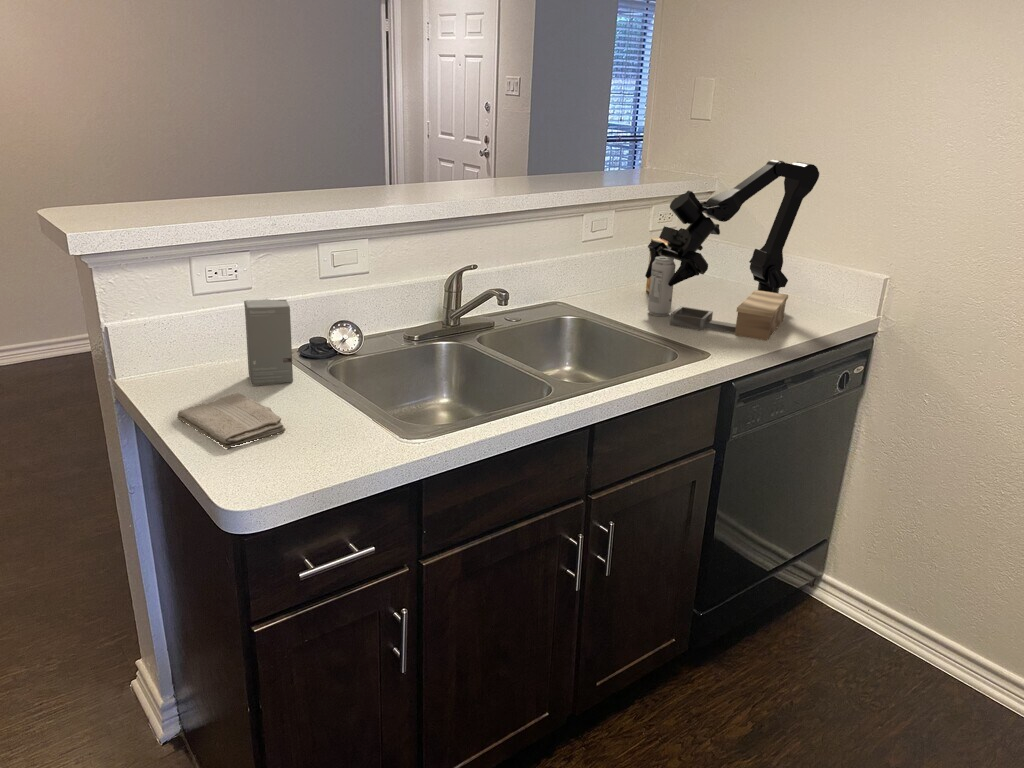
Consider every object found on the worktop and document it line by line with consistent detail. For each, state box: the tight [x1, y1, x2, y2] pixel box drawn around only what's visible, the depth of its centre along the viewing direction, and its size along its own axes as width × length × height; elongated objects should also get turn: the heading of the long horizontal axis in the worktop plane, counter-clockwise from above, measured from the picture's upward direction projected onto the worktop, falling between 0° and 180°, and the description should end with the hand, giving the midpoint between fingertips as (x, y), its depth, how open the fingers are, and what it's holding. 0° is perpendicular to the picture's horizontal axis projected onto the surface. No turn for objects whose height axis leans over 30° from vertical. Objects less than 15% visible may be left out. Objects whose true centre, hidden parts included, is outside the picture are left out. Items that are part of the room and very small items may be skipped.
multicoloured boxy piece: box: [668, 289, 789, 341], centre depth 206 cm, size 22×25×7 cm
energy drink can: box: [647, 256, 676, 317], centre depth 210 cm, size 6×6×15 cm
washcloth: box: [176, 393, 287, 449], centre depth 139 cm, size 12×18×3 cm, turn 48°
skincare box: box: [243, 298, 294, 387], centre depth 157 cm, size 8×7×16 cm
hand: (657, 281), depth 209 cm, fingers open, 9 cm apart
